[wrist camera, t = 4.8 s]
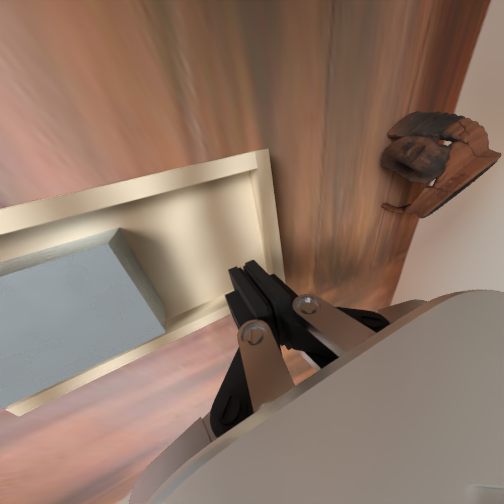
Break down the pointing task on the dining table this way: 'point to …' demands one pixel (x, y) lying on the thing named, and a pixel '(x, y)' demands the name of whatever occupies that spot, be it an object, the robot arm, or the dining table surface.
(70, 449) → the dining table surface
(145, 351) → the tray
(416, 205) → the pottery mug
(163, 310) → the cover plate
